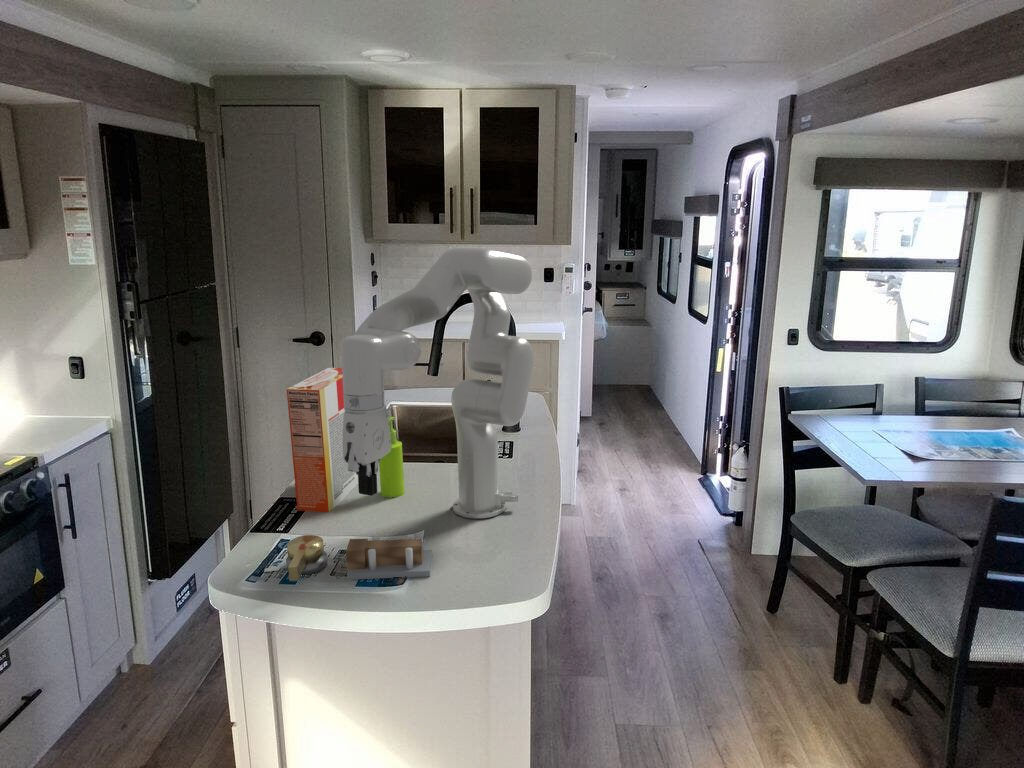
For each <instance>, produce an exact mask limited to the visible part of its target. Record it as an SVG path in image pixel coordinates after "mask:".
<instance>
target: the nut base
mask: <svg viewBox="0 0 1024 768" xmlns="http://www.w3.org/2000/svg"><path fill="white" fill-rule="evenodd" d="M290 563H291V560H290V559H289V558H288V556H287V557H286V559H285V567H286V572H287V571H288V567H289V565H290ZM328 564H329V563H328V555H327V552H326V550H324V554H323V555H322V556H321V557H319V558H318V559H315V560H312V561H308V562H307V563H306V565H305V567H304V569H303V571H302V574H301V575H302V576H301V577H306V576H305V575H310V576H313V575H312V574H314V575H317V574H319V573H322V572H323V571H324V570H326V568H327V567H328V566H329V565H328ZM278 568H279V566H276V567H275V566H274V567H266V568H264V570H263V573H264V572H270V571H271V572H270V573H273V572H272V571H278V572H279V569H278ZM288 572H289V571H288ZM288 572H287V573H288ZM316 573H317V574H316ZM303 575H304V576H303Z"/></svg>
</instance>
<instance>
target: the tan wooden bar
mask: <svg viewBox="0 0 1024 768" xmlns="http://www.w3.org/2000/svg"><path fill="white" fill-rule="evenodd" d="M408 547H410V548H412V550H413V565H416V564H422V561H423V550H424V549H423V548H424V547H423V538H415V539H408V538H404V539H381V540H380V539H379V540H372V539H371V540H369V538H368V537H367V538H350V539H349V540H348V543H347V546H346V548H345V560H346V570H347V571H348V570H351V569H366V566H369V556H368V550H369V549H375V551H376V566H391V565H406V554H405V549H406V548H408Z"/></svg>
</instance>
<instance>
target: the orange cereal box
mask: <svg viewBox="0 0 1024 768" xmlns="http://www.w3.org/2000/svg"><path fill="white" fill-rule="evenodd" d="M286 396H287V407H288V421H289V429H290V430H289V433H290V442H291V452H292V453H291V454H292V455H291V456H292V465H293V476H294V487H295V488H294V489H295V497H296V508H297V509H296V510H297V511H300V512H301V511H305V512H318V513H320V512H321V513H330V512H331V511H332V510H333V509H334V508H336V506H337V505H338V504H339V503H340V502H341V501H343V499H344V498H346V497H347V496H348V495H349V494H350V493H351V492H352V491H353V490H354V489H355V488H356V487H357V486H358V485H357V484H358V475H356V472H351V471H348V463H347V462H345V460H344V457H343V443H342V439H343V419H344V412H345V410H344V395H343V374H342V367H328V368H325V369H322V371H320V372H317V373H316V374H314V375H312V376H310V377H307V378H305V379H304V380H302V381H300V382H297V383H296V384H294V385H292V386H290V387H288V388H286ZM356 485H357V486H356ZM355 486H356V487H355ZM354 487H355V488H354ZM353 488H354V489H353ZM352 489H353V490H352ZM351 490H352V491H351ZM350 491H351V492H350ZM349 492H350V493H349Z"/></svg>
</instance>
